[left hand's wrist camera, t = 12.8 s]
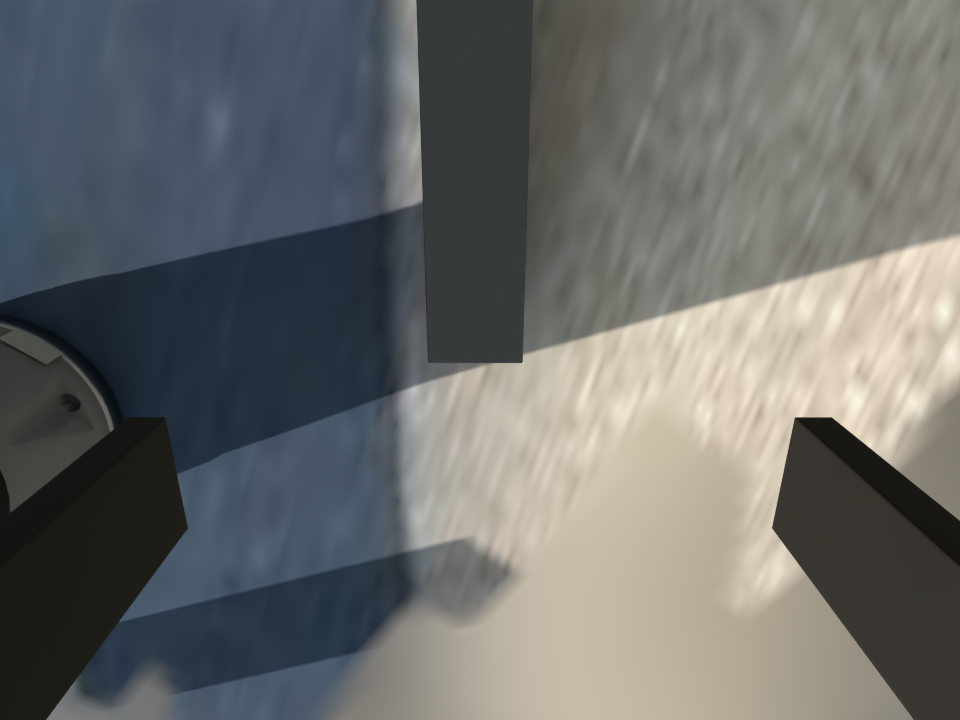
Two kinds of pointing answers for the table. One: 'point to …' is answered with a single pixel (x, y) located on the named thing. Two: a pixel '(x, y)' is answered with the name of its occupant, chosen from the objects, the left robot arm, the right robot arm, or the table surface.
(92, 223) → the table surface
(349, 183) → the table surface
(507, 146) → the post
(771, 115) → the table surface
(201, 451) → the table surface
